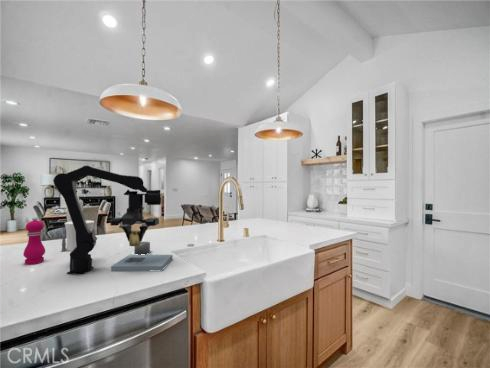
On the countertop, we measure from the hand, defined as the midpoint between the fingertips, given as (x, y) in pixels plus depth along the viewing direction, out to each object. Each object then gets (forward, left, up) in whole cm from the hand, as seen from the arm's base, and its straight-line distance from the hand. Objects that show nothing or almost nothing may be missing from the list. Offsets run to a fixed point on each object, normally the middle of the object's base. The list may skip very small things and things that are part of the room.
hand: (135, 241), depth 104 cm
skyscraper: (-43, +25, -11) cm, 51 cm away
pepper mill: (-45, +3, -10) cm, 46 cm away
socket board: (+4, 0, -10) cm, 11 cm away
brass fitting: (0, 0, -2) cm, 2 cm away
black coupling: (-4, +18, -10) cm, 21 cm away
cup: (-25, +2, -10) cm, 27 cm away
